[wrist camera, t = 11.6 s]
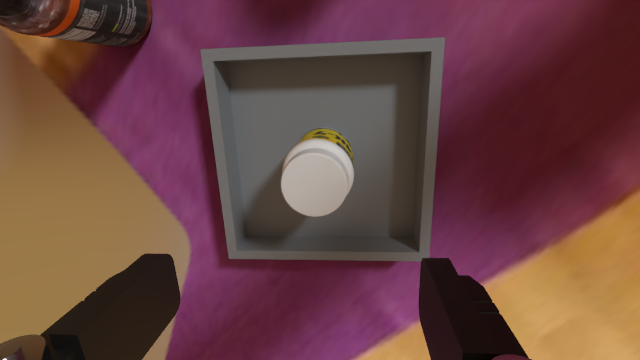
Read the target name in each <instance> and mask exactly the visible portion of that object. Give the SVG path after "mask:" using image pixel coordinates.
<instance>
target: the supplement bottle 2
mask: <svg viewBox="0 0 640 360" xmlns="http://www.w3.org/2000/svg"><path fill="white" fill-rule="evenodd" d="M353 159H354V157H353V150H352V147H351V144H350V142H349V141H348V139H347V138H346V137H345V136H344V135H343V134H342V133H340V132H339V131H337V130H334V129H331V128H323V127H322V128H316V129H313V130H311V131H309V132H308V133H306V134H305V135H304V136H303V137H302V138H301V139H300V140H299V141H298V142H297V144H296V145H295V146H294V147H293V148H292V149H291V150H290V152H289V153H288V155H287V156H286V158H285V161H284V164H283V168H282V177H281V190H282V194H283V196H284V198H285V200H286V202H287V203H288V204H289V205H290V206H291V207H292V208H293V209H294V210H295V211H297V212H299V213H301V214H303V215H306V216H311V217H319V216H324V215H328V214H330V213H332V212H333V211H335V210H336V209H337V208H338V207H339V206H340V205H341V204H342V203H343V201H344V199H345V197H346V196H347V194H348V193H349V191H350V189H351V187H352V185H353V181H354V160H353Z"/></svg>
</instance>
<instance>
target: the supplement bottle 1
mask: <svg viewBox="0 0 640 360" xmlns="http://www.w3.org/2000/svg"><path fill="white" fill-rule="evenodd" d="M151 19H152V6H151V1H150V0H0V25H1V26H3V27H5V28H7V29H9V30H11V31H14V32H17V33H21V34H26V35H34V36H41V37H48V38H56V39H64V40H71V41H79V42H86V43H94V44H102V45H109V46H129V45H133V44H135V43H137V42H139V41H140V40H141V39H142V38H143V37H144V36H145V35H146V33H147V31H148V29H149V27H150V24H151Z"/></svg>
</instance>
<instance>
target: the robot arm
mask: <svg viewBox="0 0 640 360" xmlns="http://www.w3.org/2000/svg"><path fill="white" fill-rule="evenodd" d="M179 305H180V291H179V286H178V281H177V276H176V271H175V266H174V261H173V258H172V257H171V255H169V254H144V255H142V256H141V257H140V258H139V259H137V260H136V261H135V262H134V263H133V264H131V265H130V266H129V267H128V268H126V269H125V270H124V271H122V272H120V273H118V274H116V275H114V276H113V277H111V278H109V279H108V280H107V281H106V282H104V283H103V284H102V285H101V286H99V287H98V288H97V289H96V291H94V292H92V293H91V294H90V295H89V296H87V297H86V298H85V300H84V301H81V302H80V303H79V304H77V305H76V306H75V307H74V308H72V309H71V310H70V311H69V312H68V313H66V314H65V315H64V316H63V317H61V318H60V319H59V320H58V321H57V322H55V323H54V324H53V325H52V326H51V327H49V328H48V329H47V330H46V331H44V332H43V333H42V334H41V335H25V336H20V337H17V338H13V339H11V340H8V341H5V342H3V343H1V344H0V360H142V359H143V357H144V356H145V355H146V353H147V352H148V351H149V349H150V348H151V347H152V345H153V344H154V343H155V341H156V340H157V339H158V337H159V336H160V335H161V333H162V332H163V330H164V329H165V328H166V327H167V325H168V324H169V323H170V321H171V320H172V319H173V317H174V316H175V315H176V313H177V311H178V308H179ZM419 315H420V322H421V326H422V329H423V333H424V336H425V340H426V343H427V347H428V350H429V354H430V357H431V360H531V359H529V358H528V356H527V355H526V353H525V351H524V350H523V348H522V347H521V345H520V344H519V342H518V340H517V339H516V337H515V336H514V334H513V332H512V331H511V329H510V328H509V326H508V325H507V323H506V321H505V320H504V318H503V317H502V315H501V314H499V310H498V309H497V307H496V306H495V304H494V303H492V299H491V298H490V296H489V295H488V293H487V292H486V290H485V288H484V287H483V286H482V285H480V284H479V283H478V282H477V281H475V280H474V279H473V278H471V277H470V276H460V275H458V274H457V272H456V270H455V268H454V266H453V265H452V263H451V261H450V259H449V258H422V261H421V271H420V288H419Z"/></svg>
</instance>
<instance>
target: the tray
mask: <svg viewBox="0 0 640 360" xmlns="http://www.w3.org/2000/svg"><path fill="white" fill-rule="evenodd" d="M444 46H445V37H444V38H424V39H403V40H383V41H362V42H341V43H321V44H300V45H280V46H259V47H239V48H218V49H200V50H201V57H202V65H203V72H204V79H205V87H206V94H207V102H208V109H209V116H210V124H211V131H212V138H213V146H214V153H215V161H216V168H217V175H218V183H219V190H220V197H221V205H222V212H223V220H224V227H225V234H226V242H227V249H228V257H229V259H276V260H355V261H422V258H429V254H430V240H431V226H432V212H433V198H434V185H435V171H436V157H437V143H438V129H439V115H440V101H441V87H442V73H443V60H444ZM322 127H323V128H331V129H334V130H337V131H339V132H340V133H342V134H343V135H344V136H345V137H346V138H347V139H348V141H349V142H350V144H351V147H352V150H353V157H354V159H353V160H354V181H353V185H352V187H351V189H350V191H349V193H348V194H347V196H346V197H345V199H344V201H343V203H342V204H341V205H340V206H339V207H338V208H337V209H336V210H335V211H333V212H332V213H330V214H328V215H324V216H319V217H311V216H306V215H303V214H301V213H299V212H297V211H295V210H294V209H293V208H292V207H291V206H290V205H289V204H288V203H287V202H286V200H285V198H284V196H283V194H282V190H281V177H282V168H283V164H284V161H285V158H286V156H287V155H288V153H289V152H290V150H291V149H292V148H293V147H294V146H295V145H296V144H297V142H298V141H299V140H300V139H301V138H302V137H303V136H304V135H305V134H306V133H308V132H309V131H311V130H313V129H316V128H322Z"/></svg>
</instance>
